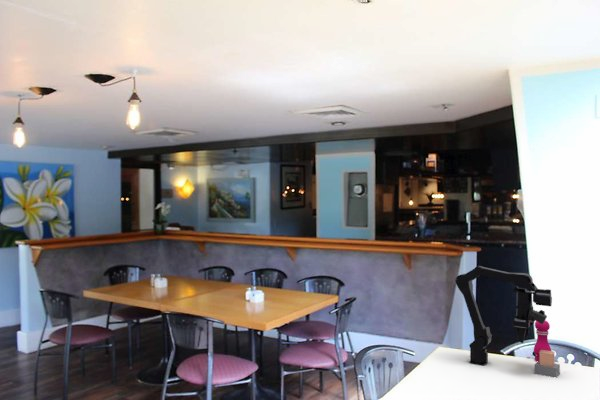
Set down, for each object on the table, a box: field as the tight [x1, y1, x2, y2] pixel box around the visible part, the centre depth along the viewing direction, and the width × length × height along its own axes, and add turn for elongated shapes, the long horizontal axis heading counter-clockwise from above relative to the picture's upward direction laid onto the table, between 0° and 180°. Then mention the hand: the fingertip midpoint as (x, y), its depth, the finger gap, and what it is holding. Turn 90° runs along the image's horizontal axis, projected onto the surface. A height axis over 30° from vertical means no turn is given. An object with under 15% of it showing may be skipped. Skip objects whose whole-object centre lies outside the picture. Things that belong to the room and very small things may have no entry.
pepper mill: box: [533, 320, 552, 362], centre depth 212 cm, size 7×7×20 cm
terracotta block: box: [540, 350, 556, 367], centre depth 194 cm, size 5×5×5 cm
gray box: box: [533, 361, 561, 379], centre depth 194 cm, size 8×7×4 cm
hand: (523, 340), depth 199 cm, fingers open, 9 cm apart
